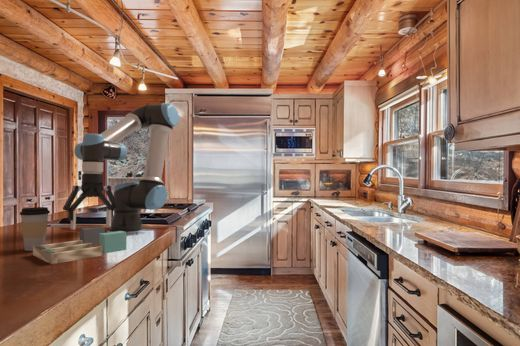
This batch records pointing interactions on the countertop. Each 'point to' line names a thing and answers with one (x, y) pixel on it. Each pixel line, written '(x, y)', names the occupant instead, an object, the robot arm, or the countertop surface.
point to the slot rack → (66, 251)
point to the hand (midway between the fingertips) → (91, 227)
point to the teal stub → (113, 241)
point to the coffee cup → (34, 226)
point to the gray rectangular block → (91, 234)
